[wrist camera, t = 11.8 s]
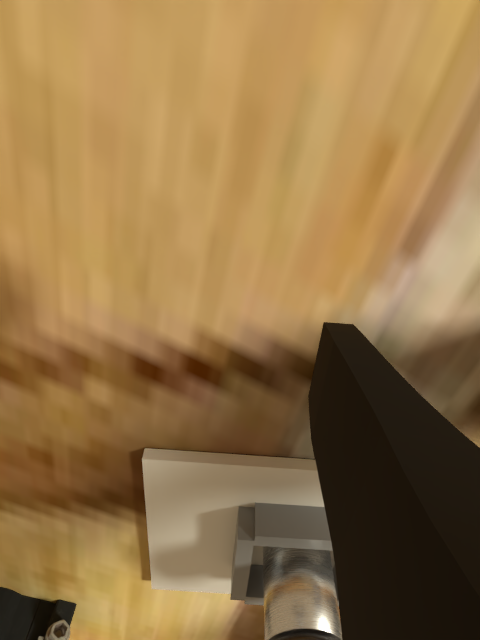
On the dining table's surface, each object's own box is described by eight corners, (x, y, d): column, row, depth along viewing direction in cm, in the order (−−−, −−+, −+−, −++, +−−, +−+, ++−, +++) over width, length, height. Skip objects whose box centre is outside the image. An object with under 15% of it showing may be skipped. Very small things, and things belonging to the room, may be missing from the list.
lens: (319, 516, 29) (337, 641, 23) (335, 554, 31) (355, 677, 25) (252, 529, 29) (253, 652, 24) (273, 564, 32) (278, 686, 26)
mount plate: (476, 470, 27) (499, 516, 24) (407, 594, 35) (419, 637, 33) (144, 448, 27) (133, 491, 24) (153, 578, 35) (146, 620, 32)
